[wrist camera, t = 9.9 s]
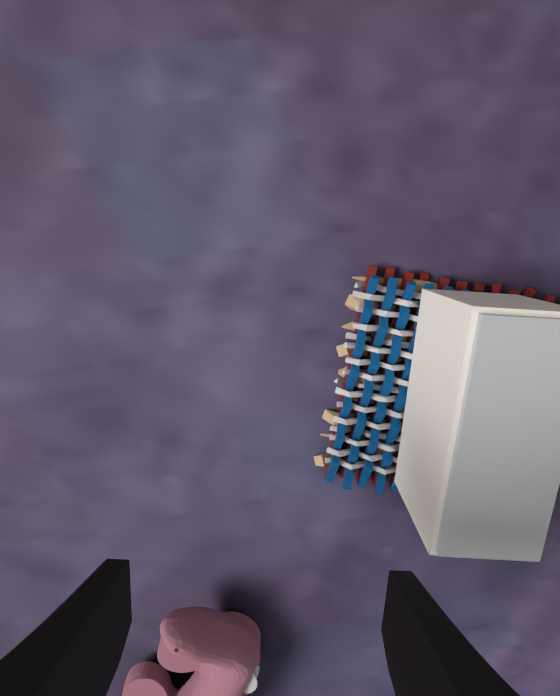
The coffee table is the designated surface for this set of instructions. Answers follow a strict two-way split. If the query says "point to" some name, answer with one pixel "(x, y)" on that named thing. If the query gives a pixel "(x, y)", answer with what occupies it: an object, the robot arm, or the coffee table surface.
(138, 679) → the pink curved figurine
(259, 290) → the coffee table surface
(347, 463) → the woven mat
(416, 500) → the painted block
